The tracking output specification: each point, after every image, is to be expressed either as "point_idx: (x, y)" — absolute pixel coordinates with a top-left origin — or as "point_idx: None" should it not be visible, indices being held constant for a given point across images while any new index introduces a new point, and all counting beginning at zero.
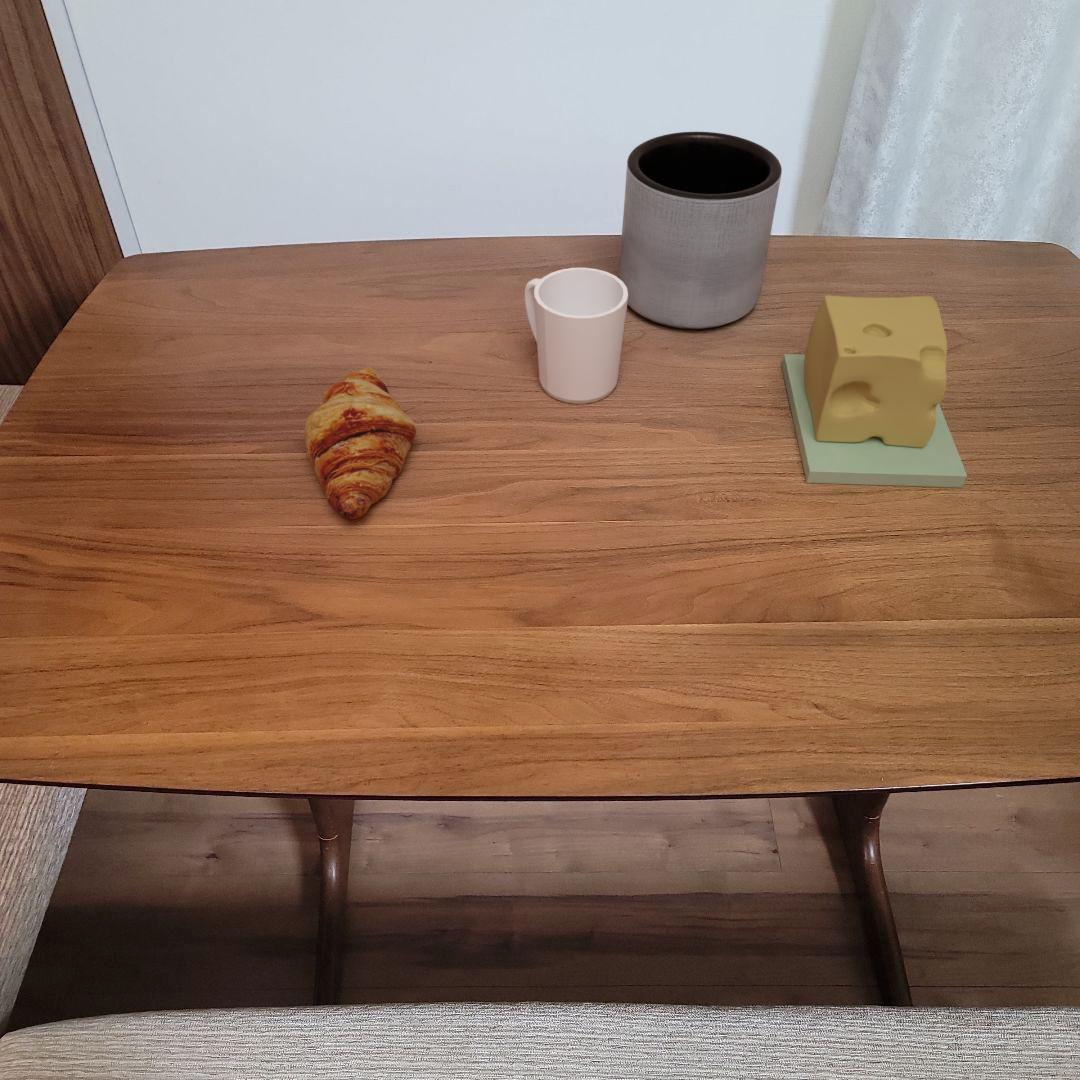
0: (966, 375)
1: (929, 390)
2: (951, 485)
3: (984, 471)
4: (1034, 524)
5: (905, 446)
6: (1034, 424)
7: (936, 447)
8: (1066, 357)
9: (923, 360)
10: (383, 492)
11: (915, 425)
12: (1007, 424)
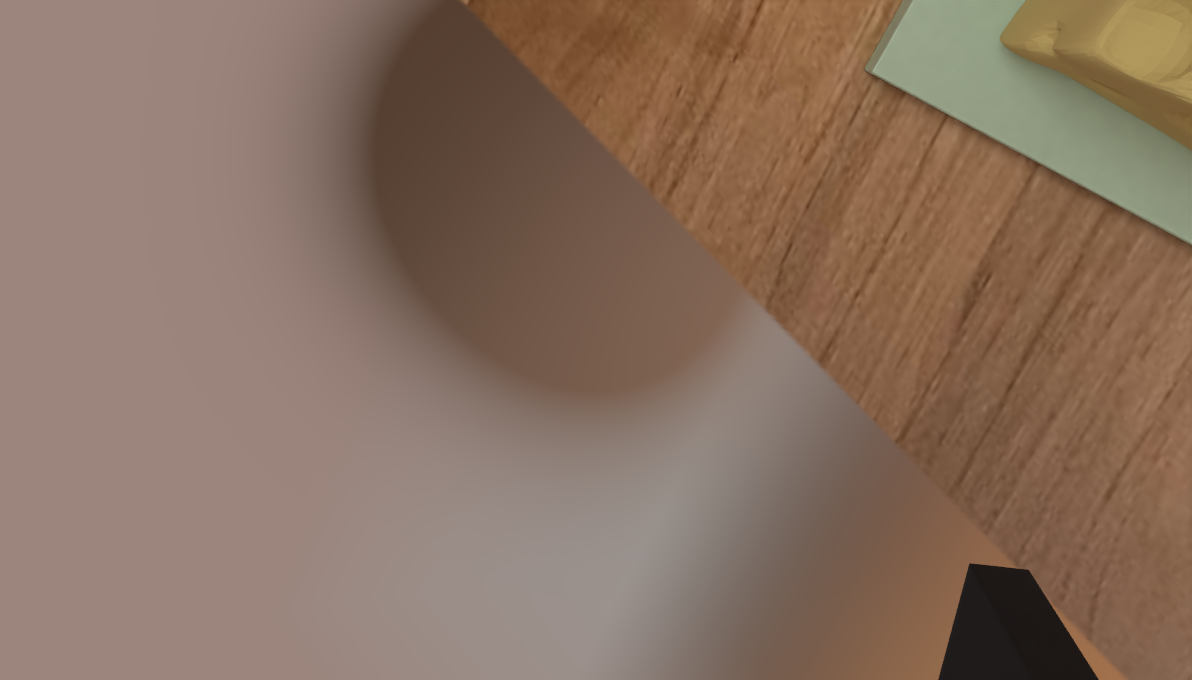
0: (1159, 367)
1: (1093, 12)
2: (879, 45)
3: (880, 159)
4: (701, 137)
5: None
6: (942, 378)
7: (985, 73)
8: (1076, 612)
9: (1184, 24)
10: None
11: (1047, 3)
12: (974, 324)
